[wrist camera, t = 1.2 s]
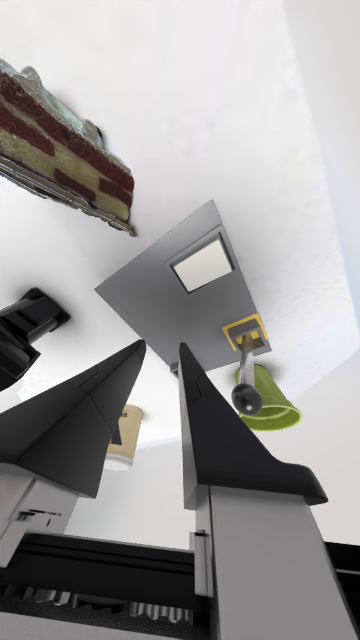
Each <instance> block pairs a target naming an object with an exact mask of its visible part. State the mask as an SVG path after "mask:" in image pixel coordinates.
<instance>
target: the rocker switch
mask: <svg viewBox="0 0 360 640" xmlns="http://www.w3.org/2000/svg"><path fill="white" fill-rule="evenodd" d="M174 269H175V270H176V272H177V274H178V275H179V277H180V279H181V280H182V282H183V283H184V285H185V287H186V288H187V290H188V291H192V290H194V289H196V288H198V287H200V286H202V285H204V284H206V283H208V282H210V281H213V280H215V279H217V278H219V277H221V276H223V275H225V274H227V273H229V272H232V269H231V266H230V264H229V261H228V259H227V257H226V254H225V252H224V249H223V247H222V245H221V242H220V240H219V238H217V239H216V240H214V241H212V242H211V243H209V244H208V245H206V246H204V247H203V248H201V249H200V250H198V251H196V252H195V253H193V254H191V255H190V256H188V257H187V258H185V259H183V260H182V261H180V262H178V263H177V264H176V265H175V266H174Z"/></svg>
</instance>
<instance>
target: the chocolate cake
mask: <svg viewBox="0 0 360 640" xmlns="http://www.w3.org/2000/svg"><path fill="white" fill-rule="evenodd" d="M101 138H102V135H101V132H100V130H99V129H98V128H97V127H96V126H95V125H94V124H93V123H92V122H91V121H90V120H88V119H84V120H83V123H82V122H81V121H80V120H79V119H78V117H77V116H76V115H74V114H73V113H72V112H71V111H70V110H69V109H67V108H66V107H65V106H64V105H63V104H62V103H61V102H60V101H59V100H58V99H57V98H55V97H54V96H53V95H52V94H51V93H49V92H48V91H47V90H46V89H45V88H44V87H43V85H42V82H41V79H40V77H39V75H38V73H37V72H36V70H35V69H34V68H33V67H32V66H26V67H24V68H23V69H22V72H21V73H19V72H17V71H16V70H15V69H14V68H13V67H12V66H11V65H10V64H8V63H7V62H6V61H4V60H3V59H1V58H0V175H2V177H5V178H7V179H8V180H9V181H11V182H13V183H15V184H16V185H17V186H20V187H22V188H24V189H25V190H27V191H29V192H31V193H32V194H35V195H37V196H39V197H41V198H43V199H51V200H53V201H55V202H57V203H61V204H64V205H66V206H69V207H71V208H73V209H78V208H80V209H81V210H82V212H83V213H85V214H87V215H89V216H94V217H99V218H101V220H103V221H104V222H106V221H107V222H108V224H109V226H110V227H113V228H115V229H117V230H120V231H121V230H124V231H127V232H128V233H129V235H130V236H132V237H135V236H134V235H133V228H132V227H131V226H129V225H128V224H126V222H127V219H128V217H129V212H128V209H129V207H130V205H131V198H132V191H133V188H134V180H133V177H132V175H131V172H130V169H129V168H127V167H126V166H125V165H124V164H123V163H122V162H121V161H120V160H119V159H118V158H117V157H115V155H113V154H112V153H110V152H107V151H105V150H104V149H103V143H102V140H101Z"/></svg>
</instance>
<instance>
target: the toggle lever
mask: <svg viewBox="0 0 360 640" xmlns="http://www.w3.org/2000/svg"><path fill="white" fill-rule="evenodd" d="M231 398H232V402H233V405H234V406H235V408H236V409H237V410H238V411H239V412H240V413H242V414H244V415H247V416H254V415H257V414H258V413H259V412H260V411H261V409H262V407H263V399H262V396H261V394H260V392H259V391H258V390H257V389H256V388H255V384H254V360H253V337H252V335H250V334H246V335H243V336H242V342H241V359H240V376H239V385H237V386H235V388H234V389H233V391H232V395H231Z"/></svg>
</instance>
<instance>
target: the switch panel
mask: <svg viewBox="0 0 360 640" xmlns="http://www.w3.org/2000/svg"><path fill="white" fill-rule="evenodd" d="M217 238H219V240H220V242H221V245H222V247H223V249H224V252H225V254H226V257H227V259H228V261H229V264H230V266H231V269H232V272H229V273H227V274H225V275H223V276H221V277H219V278H217V279H215V280H213V281H210V282H208V283H206V284H204V285H202V286H200V287H198V288H196V289H194V290H192V291H188V290H187V288H186V287H185V285H184V283H183V282H182V280H181V279H180V277H179V275H178V274H177V272H176V270H175V269H174V266H175V265H176V264H177V263H178V262H180V261H182V260H183V259H185V258H187V257H188V256H190V255H191V254H193V253H195V252H196V251H198V250H200V249H201V248H203V247H204V246H206V245H208V244H209V243H211V242H212V241H214V240H216V239H217ZM94 290H95V291H96V292H97V293H98V294H99V295H100V296H101V297H102V298H103V299H104V300H105V301H106V302H107V303H108V304H109V305H110V306H111V307H112V308H113V309H114V310H115V311H116V312H117V313H118V314H119V315H120V317H121V318H122V319H123V320H124V321H125V322H126V323H127V324H128V325H129V326H130V327H131V328H132V329H133V330H134V331H135V332H136V333H137V334H138V335H139V336H140V337H141V338H142V339H143V340H145V342H146V343H147V344H148V345H149V346H150V347H151V348H152V349H153V350H154V351H155V352H156V353H157V354H158V356H159V357H160V358H161V359H162V360H163V361H164V362H165V363H166V364H167V365H168V366H169V367H170V372H171V373H172V374H173V375H174V376H175V377H176V378H177V379H178V380H179V377H178V363H179V347H180V342H185V343H186V344H187V346H188V347H189V349H190V350H191V352H192V353H193V355H194V356H195V358H196V360H197V361H198V363H199V364H200V366H201V367H202V369H203V371H204V372H206V371H209V370H212V369H215V368H219V367H222V366H225V365H228V364H231V363H235V362H238V361H240V359H241V342H242V336H243V335H246V334H250V335H252V337H253V357H254V356H257V355H260V354H263V353H267V352H270V351H272V349H271V347H270V344H269V342H268V337H267V334H266V332H265V329H264V326H263V324H262V321H261V319H260V316H259V313H257V311H256V308H255V306H254V303H253V301H252V298H251V296H250V293H249V290H248V288H247V285H246V283H245V280H244V278H243V275H242V273H241V270H240V267H239V265H238V262H237V260H236V257H235V255H234V252H233V249H232V247H231V244H230V242H229V239H228V237H227V234H226V231H225V229H224V226H223V224H222V221H221V219H220V216H219V214H218V211H217V208H216V206H215V203H214V201H213V199H212V200H211V201H209V202H208V203H207V204H206V205H204V206H203V207H202V208H200V209H199V210H198V211H196V212H195V213H194V214H192V215H191V216H190V217H188V218H187V219H186V220H185V221H183V222H182V223H181V224H179V225H178V226H177V227H175V228H174V229H173V230H171V231H170V232H169V233H167V234H166V235H165V236H164V237H162V238H161V239H160V240H158V241H157V242H156V243H154V244H153V245H152V246H150V247H149V248H148V249H146V250H145V251H144V252H143V253H141V254H140V255H139V256H137V257H136V258H135V259H133V260H132V261H131V262H129V263H128V264H127V265H125V266H124V267H123V268H122V269H120V270H119V271H118V272H116V273H115V274H114V275H112V276H111V277H110V278H108V279H107V280H106V281H104V282H103V283H102V284H101V285H99V286H98V287H97V288H95V289H94Z"/></svg>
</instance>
